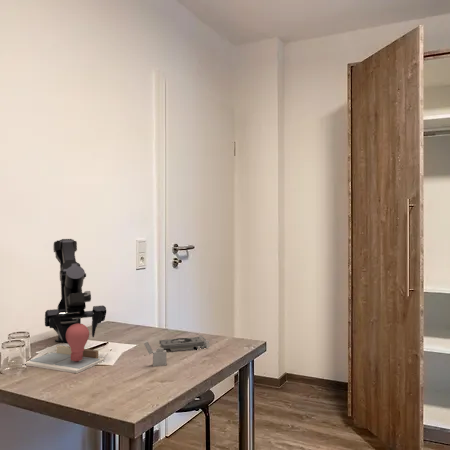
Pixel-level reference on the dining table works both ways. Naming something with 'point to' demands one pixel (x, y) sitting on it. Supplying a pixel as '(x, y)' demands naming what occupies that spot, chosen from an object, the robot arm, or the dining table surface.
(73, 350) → the light bulb
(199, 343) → the graphics card
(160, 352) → the lighter
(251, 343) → the dining table surface
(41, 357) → the board
